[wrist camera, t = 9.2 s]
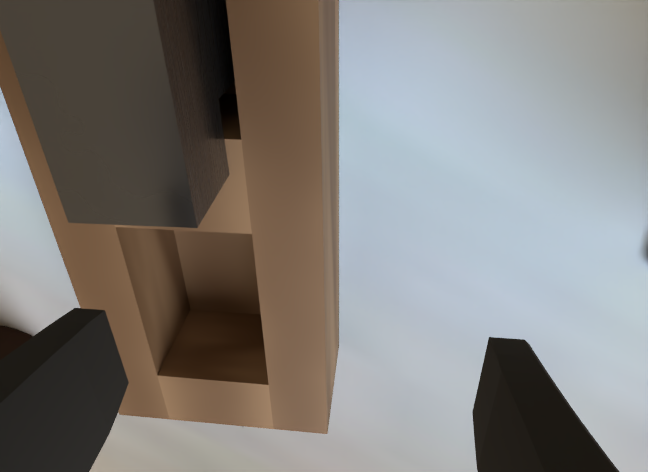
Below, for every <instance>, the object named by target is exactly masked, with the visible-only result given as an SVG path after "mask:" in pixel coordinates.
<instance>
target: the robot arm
mask: <svg viewBox="0 0 648 472" xmlns="http://www.w3.org/2000/svg"><path fill="white" fill-rule="evenodd" d="M128 384H129V382H128V379H127V376H126V373H125V370H124V367H123V363H122V360H121V357H120V354H119V351H118V348H117V345H116V342H115V339H114V336H113V333H112V330H111V327H110V324H109V321H108V318H107V315H106V312H105V310H97V309H83V308H74V309H73V310H71V311H70V312H68V313H67V314H65V315H64V316H62V317H61V318H59V319H58V320H56V321H55V322H53V323H52V324H50V325H49V326H48V327H46V328H45V329H43V330H42V331H40V332H39V333H38V334H36V335H35V336H33V337H32V338H31V339H29V340H28V341H26V342H25V343H24V344H22V345H21V346H19V347H18V348H17V349H15V350H14V351H12V352H11V353H10V354H8V355H7V356H5V357H4V358H3V359H1V360H0V472H89V471H90V469H91V467H92V465H93V463H94V461H95V460H96V458H97V456H98V454H99V452H100V450H101V448H102V446H103V444H104V442H105V441H106V439H107V437H108V435H109V433H110V430H111V428H112V426H113V423H114V421H115V418H116V416H117V413H118V411H119V408H120V405H121V403H122V400H123V397H124V394H125V392H126V389H127V386H128ZM473 424H474V437H475V450H476V461H477V470H478V472H619V471H618V469H617V468H616V467H615V466H614V464H613V463H612V462H611V461H610V459H609V458H608V457H607V455H606V454H605V453H604V451H603V450H602V449H601V447H600V446H599V444H598V443H597V442H596V440H595V439H594V438H593V436H592V435H591V434H590V432H589V431H588V430H587V428H586V427H585V426H584V424H583V423H582V422H581V420H580V419H579V417H578V416H577V415H576V413H575V412H574V411H573V409H572V408H571V406H570V405H569V403H568V402H567V400H566V399H565V398H564V396H563V395H562V393H561V392H560V390H559V389H558V387H557V386H556V384H555V383H554V382H553V380H552V379H551V377H550V376H549V374H548V373H547V371H546V370H545V368H544V367H543V365H542V363H541V362H540V360H539V359H538V357H537V356H536V354H535V353H534V351H533V350H532V348H531V346H530V345H529V344H528V343H527V342H526V341H525V340H520V339H506V338H492V337H489V340H488V345H487V349H486V354H485V358H484V363H483V367H482V372H481V376H480V381H479V386H478V390H477V395H476V399H475V404H474V408H473Z"/></svg>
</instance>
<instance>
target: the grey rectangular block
mask: <svg viewBox="0 0 648 472" xmlns="http://www.w3.org/2000/svg"><path fill="white" fill-rule="evenodd" d="M0 31H1V34H2V37H3V39H4V42H5V45H6V48H7V51H8V53H9V56H10V59H11V62H12V65H13V68H14V70H15V73H16V76H17V79H18V82H19V85H20V87H21V90H22V93H23V96H24V99H25V102H26V104H27V107H28V110H29V113H30V116H31V118H32V121H33V124H34V127H35V130H36V133H37V135H38V138H39V141H40V144H41V147H42V150H43V152H44V155H45V158H46V161H47V164H48V166H49V169H50V172H51V175H52V178H53V181H54V183H55V186H56V189H57V192H58V195H59V198H60V200H61V203H62V206H63V209H64V212H65V215H66V217H67V220H68V223H83V224H108V225H133V226H157V227H182V228H198V226H199V225H200V223H201V221H202V220H203V218H204V216H205V215H206V213H207V211H208V210H209V208H210V206H211V205H212V203H213V201H214V200H215V198H216V196H217V195H218V193H219V191H220V190H221V188H222V186H223V185H224V183H225V181H226V180H227V178H228V176H229V175H230V174H229V167H228V160H227V153H226V146H225V139H224V132H223V125H222V118H221V111H220V104H219V98H220V97H221V96H222V95H223V94H224V92H225V91H226V90H227V89H228V88H229V87H230V86H231V84H232V83H233V82H234V81H235V77H234V68H233V59H232V50H231V41H230V32H229V23H228V14H227V5H226V0H0Z"/></svg>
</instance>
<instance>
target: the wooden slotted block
mask: <svg viewBox="0 0 648 472" xmlns="http://www.w3.org/2000/svg"><path fill="white" fill-rule="evenodd" d="M226 5H227V14H228V23H229V32H230V41H231V50H232V59H233V68H234V77H235V81H234V82H233V83H232V84H231V86H230V87H229V88H228V89H227V90H226V91H225V92H224V94H223V95H222V96H221V97H220V98H219V104H220V111H221V118H222V125H223V132H224V139H225V146H226V153H227V160H228V167H229V174H230V175H229V176H228V178H227V180H226V181H225V183H224V185H223V186H222V188H221V190H220V191H219V193H218V195H217V196H216V198H215V200H214V201H213V203H212V205H211V206H210V208H209V210H208V211H207V213H206V215H205V216H204V218H203V220H202V221H201V223H200V225H199V226H198V228H182V227H157V226H133V225H108V224H83V223H68V220H67V217H66V215H65V212H64V209H63V206H62V203H61V200H60V198H59V195H58V192H57V189H56V186H55V183H54V181H53V178H52V175H51V172H50V169H49V166H48V164H47V161H46V158H45V155H44V152H43V150H42V147H41V144H40V141H39V138H38V135H37V133H36V130H35V127H34V124H33V121H32V118H31V116H30V113H29V110H28V107H27V104H26V102H25V99H24V96H23V93H22V90H21V87H20V85H19V82H18V79H17V76H16V73H15V70H14V68H13V65H12V62H11V59H10V56H9V53H8V51H7V48H6V45H5V42H4V39H3V37H2V34H1V31H0V87H1V90H2V93H3V95H4V98H5V101H6V104H7V106H8V109H9V112H10V115H11V117H12V120H13V123H14V126H15V128H16V131H17V134H18V137H19V139H20V142H21V145H22V148H23V150H24V153H25V156H26V159H27V161H28V164H29V167H30V170H31V172H32V175H33V178H34V181H35V183H36V186H37V189H38V192H39V194H40V197H41V200H42V203H43V205H44V208H45V211H46V214H47V216H48V219H49V222H50V225H51V228H52V230H53V233H54V236H55V239H56V241H57V244H58V247H59V250H60V252H61V255H62V258H63V261H64V263H65V266H66V269H67V272H68V274H69V277H70V280H71V283H72V285H73V288H74V291H75V294H76V296H77V299H78V302H79V305H80V307H81V308H83V309H97V310H105V312H106V315H107V318H108V321H109V324H110V327H111V330H112V333H113V336H114V339H115V342H116V345H117V348H118V351H119V354H120V357H121V360H122V363H123V367H124V370H125V373H126V376H127V379H128V382H129V384H128V386H127V389H126V392H125V394H124V397H123V400H122V403H121V405H120V408H119V411H118V412H119V415H130V416H141V417H152V418H162V419H173V420H184V421H194V422H205V423H216V424H226V425H237V426H248V427H258V428H269V429H280V430H290V431H301V432H312V433H322V434H327V432H328V425H329V417H330V409H331V402H332V394H333V386H334V379H335V371H336V363H337V356H338V348H339V0H226Z"/></svg>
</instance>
